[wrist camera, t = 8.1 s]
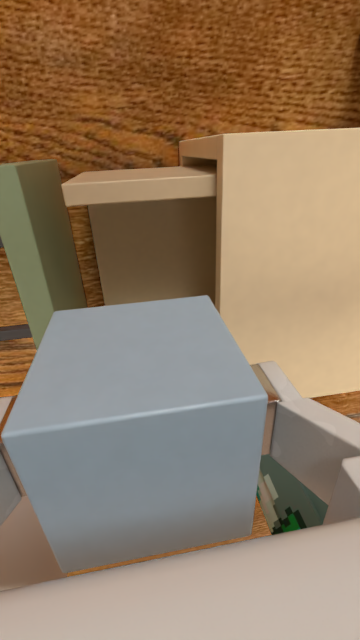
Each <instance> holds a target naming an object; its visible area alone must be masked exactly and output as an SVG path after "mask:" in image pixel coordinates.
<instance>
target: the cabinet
mask: <svg viewBox="0 0 360 640" xmlns="http://www.w3.org/2000/svg"><path fill="white" fill-rule="evenodd" d="M179 160H180V166H196V165H214V164H217V209H216V288H215V308H216V309H217V311H218V313H219V314H220V316H221V318H222V319H223V321H224V323H225V324H226V326H227V328H228V329H229V331H230V333H231V334H232V336H233V338H234V339H235V341H236V343H237V344H238V346H239V348H240V349H241V351H242V353H243V354H244V356H245V358H246V359H247V361H248V363H249V364H250V365H251V364H256V363H261V362H267V361H275V362H276V363H277V364H278V366H279V367H280V368H281V370H282V371H283V372H284V374H285V375H286V376H287V378H288V379H289V380H290V382H291V383H292V384H293V386H294V387H295V388H296V390H297V391H298V392H299V394H300V395H301V396H302V398H314V397H320V396H327V395H333V394H340V393H346V392H353V391H359V390H360V128H341V129H318V130H296V131H273V132H251V133H229V134H219V135H214V136H208V137H202V138H196V139H189V140H183V141H179Z"/></svg>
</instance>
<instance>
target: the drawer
mask: <svg viewBox="0 0 360 640" xmlns="http://www.w3.org/2000/svg"><path fill="white" fill-rule="evenodd" d="M86 205H87V208H88V213H89V219H90V225H91V230H92V236H93V242H94V247H95V253H96V259H97V264H98V270H99V276H100V281H101V287H102V292H103V298H104V304H105V306H110V305H119V304H129V303H138V302H148V301H157V300H167V299H176V298H186V297H195V296H204V295H207V296H209V297H210V299H211V301H212V303H213V304H214V306H215V288H216V209H217V164H214V165H196V166H178V167H161V168H143V169H125V170H108V171H90V172H83V173H81V174H79V175H77V176H76V177H74V178H72V179H70V180H68V181H67V182H65V183H63V184H62V182H61V177H60V172H59V167H58V163H57V160H56V159H47V160H32V161H23V162H14V163H5V164H0V248H1V247H4V249H5V252H6V255H7V258H8V262H9V265H10V268H11V271H12V274H13V277H14V280H15V284H16V287H17V290H18V293H19V296H20V299H21V302H22V306H23V309H24V312H25V315H26V318H27V321H28V324H24V325H15V326H6V327H0V341H5V340H13V339H22V338H31V337H33V340H34V343H35V346H36V350H38V347H39V345H40V343H41V340H42V338H43V336H44V333H45V331H46V329H47V327H48V324H49V322H50V320H51V317H52V315H53V313H54V312H55V311H62V310H72V309H81V308H88V307H87V303H86V298H85V293H84V288H83V283H82V278H81V274H80V269H79V264H78V259H77V254H76V249H75V245H74V240H73V235H72V230H71V225H70V220H69V216H68V211H67V207H71V206H86Z"/></svg>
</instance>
